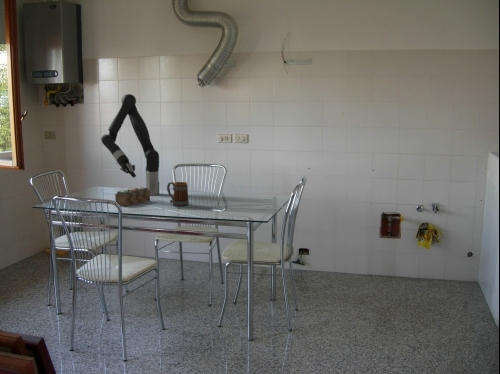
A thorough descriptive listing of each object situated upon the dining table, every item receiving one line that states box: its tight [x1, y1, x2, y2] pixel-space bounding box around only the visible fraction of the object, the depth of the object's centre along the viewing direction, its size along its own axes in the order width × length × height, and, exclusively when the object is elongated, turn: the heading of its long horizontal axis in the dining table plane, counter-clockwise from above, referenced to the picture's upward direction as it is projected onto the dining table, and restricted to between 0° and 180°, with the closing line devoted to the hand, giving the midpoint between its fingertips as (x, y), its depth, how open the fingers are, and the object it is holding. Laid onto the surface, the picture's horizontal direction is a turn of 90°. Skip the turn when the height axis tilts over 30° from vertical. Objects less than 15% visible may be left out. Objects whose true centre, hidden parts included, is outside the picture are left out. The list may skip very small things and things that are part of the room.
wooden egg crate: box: [114, 187, 151, 208], centre depth 333 cm, size 24×8×9 cm, turn 150°
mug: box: [166, 181, 190, 208], centre depth 330 cm, size 16×11×15 cm
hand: (134, 176), depth 341 cm, fingers closed
